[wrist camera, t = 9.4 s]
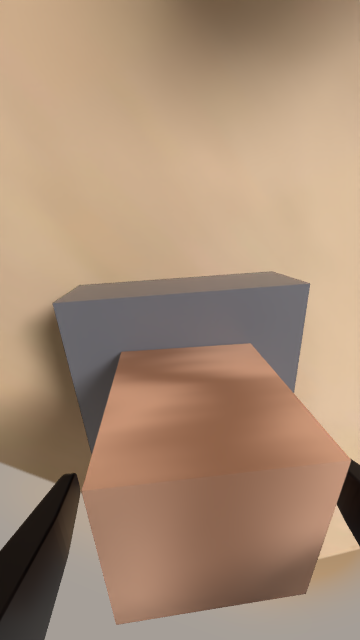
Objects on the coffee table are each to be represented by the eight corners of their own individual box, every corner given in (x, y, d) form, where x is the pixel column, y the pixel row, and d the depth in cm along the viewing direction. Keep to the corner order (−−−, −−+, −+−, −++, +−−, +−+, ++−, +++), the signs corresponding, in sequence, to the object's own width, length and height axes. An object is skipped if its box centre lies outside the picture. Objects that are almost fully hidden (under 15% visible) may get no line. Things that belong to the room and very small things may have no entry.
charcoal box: (112, 431, 17) (100, 486, 13) (82, 283, 13) (52, 303, 9) (256, 414, 18) (283, 462, 14) (268, 270, 14) (309, 283, 10)
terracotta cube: (133, 449, 12) (116, 624, 7) (121, 351, 10) (81, 491, 5) (241, 438, 13) (306, 593, 7) (250, 343, 11) (351, 460, 5)
